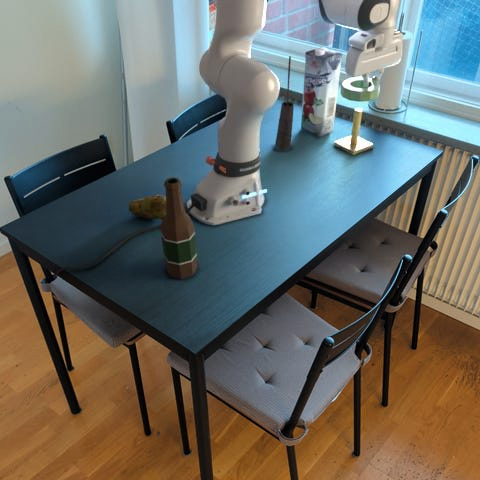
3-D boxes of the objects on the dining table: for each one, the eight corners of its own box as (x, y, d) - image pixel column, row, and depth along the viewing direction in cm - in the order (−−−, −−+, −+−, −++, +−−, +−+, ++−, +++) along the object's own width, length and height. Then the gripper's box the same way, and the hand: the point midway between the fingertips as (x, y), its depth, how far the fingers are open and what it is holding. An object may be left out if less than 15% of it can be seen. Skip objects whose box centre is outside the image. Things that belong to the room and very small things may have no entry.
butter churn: (294, 157, 169) (300, 66, 150) (265, 153, 171) (268, 62, 152) (300, 145, 176) (307, 55, 156) (273, 141, 178) (276, 52, 158)
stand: (353, 155, 170) (358, 117, 162) (333, 144, 176) (338, 108, 167) (372, 147, 174) (379, 110, 165) (353, 137, 179) (358, 101, 171)
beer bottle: (198, 259, 131) (191, 171, 114) (197, 279, 125) (190, 189, 109) (167, 260, 131) (155, 172, 114) (164, 280, 125) (152, 190, 109)
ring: (359, 104, 154) (360, 94, 152) (333, 93, 161) (334, 83, 159) (386, 95, 159) (388, 85, 157) (360, 84, 165) (361, 74, 163)
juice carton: (314, 122, 188) (322, 40, 170) (336, 132, 182) (346, 48, 164) (296, 129, 184) (302, 46, 166) (318, 139, 178) (326, 54, 160)
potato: (151, 204, 150) (147, 179, 144) (179, 222, 143) (176, 196, 137) (126, 215, 146) (121, 189, 140) (154, 235, 139) (150, 208, 133)
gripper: (395, 25, 157) (387, 74, 166) (344, 39, 149) (339, 89, 158) (411, 30, 153) (402, 79, 163) (360, 45, 145) (354, 96, 155)
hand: (370, 84), depth 160 cm, fingers closed on ring, 2 cm apart
